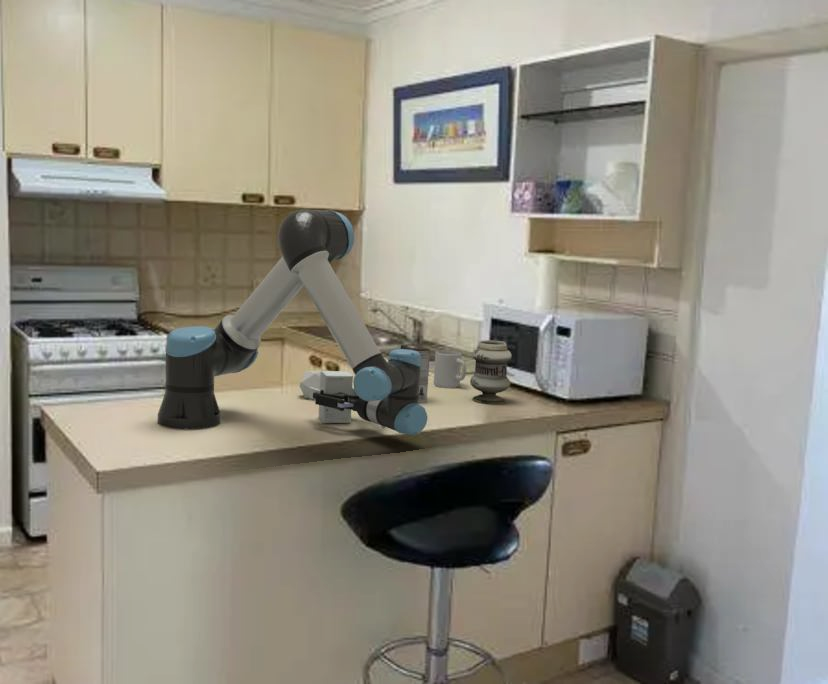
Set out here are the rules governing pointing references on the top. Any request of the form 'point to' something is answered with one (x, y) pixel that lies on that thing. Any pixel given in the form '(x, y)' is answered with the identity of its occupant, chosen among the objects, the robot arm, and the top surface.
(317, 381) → the die
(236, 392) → the top surface
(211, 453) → the top surface
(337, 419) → the supplement box
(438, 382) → the mug
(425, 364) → the coffee box
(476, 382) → the apothecary jar
